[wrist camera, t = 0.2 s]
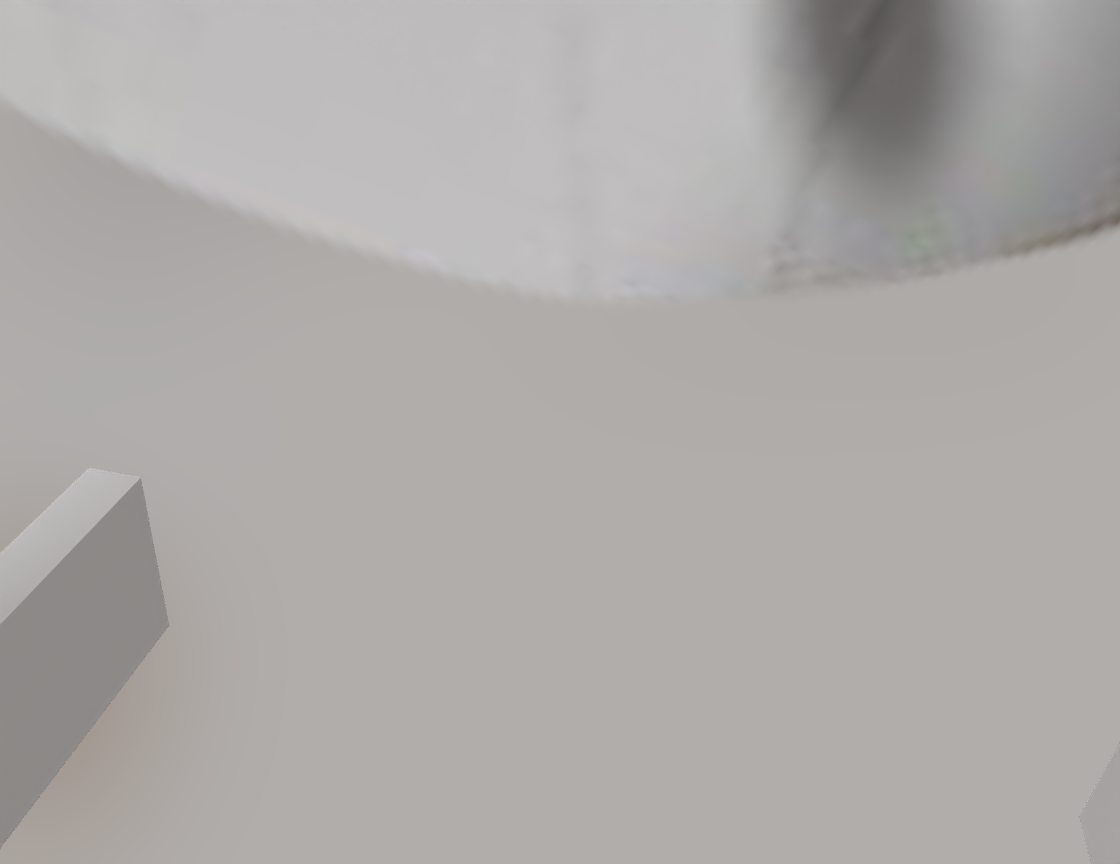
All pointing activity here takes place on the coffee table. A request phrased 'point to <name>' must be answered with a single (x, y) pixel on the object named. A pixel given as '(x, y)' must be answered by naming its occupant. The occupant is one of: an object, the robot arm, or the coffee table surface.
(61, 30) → the coffee table surface
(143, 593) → the robot arm
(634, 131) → the coffee table surface
